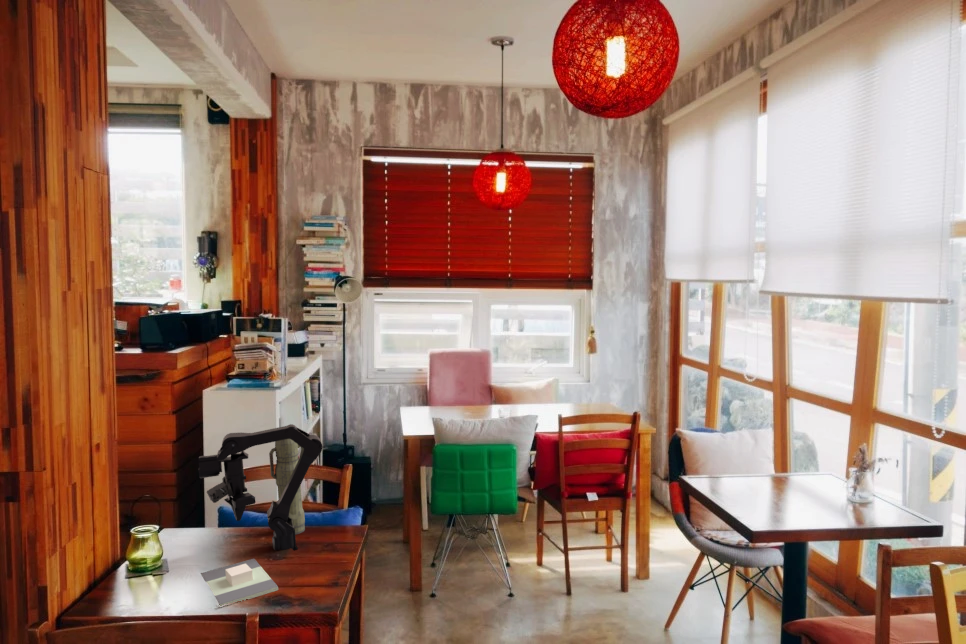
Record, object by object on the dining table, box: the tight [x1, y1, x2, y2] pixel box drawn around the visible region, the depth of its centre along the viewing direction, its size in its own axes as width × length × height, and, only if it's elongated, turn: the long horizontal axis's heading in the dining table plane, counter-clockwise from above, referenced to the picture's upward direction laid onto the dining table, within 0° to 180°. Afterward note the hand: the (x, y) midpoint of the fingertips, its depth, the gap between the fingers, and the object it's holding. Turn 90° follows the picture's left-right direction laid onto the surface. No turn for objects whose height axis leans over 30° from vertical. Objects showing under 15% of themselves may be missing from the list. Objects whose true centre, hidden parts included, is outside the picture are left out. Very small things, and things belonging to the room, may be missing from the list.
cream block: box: [225, 563, 253, 586], centre depth 200 cm, size 6×6×3 cm
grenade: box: [268, 439, 306, 536], centre depth 237 cm, size 9×12×35 cm
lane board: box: [205, 565, 279, 607], centre depth 200 cm, size 16×24×1 cm, turn 34°
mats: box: [200, 558, 279, 604], centre depth 200 cm, size 16×24×1 cm, turn 34°
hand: (238, 520), depth 218 cm, fingers closed
